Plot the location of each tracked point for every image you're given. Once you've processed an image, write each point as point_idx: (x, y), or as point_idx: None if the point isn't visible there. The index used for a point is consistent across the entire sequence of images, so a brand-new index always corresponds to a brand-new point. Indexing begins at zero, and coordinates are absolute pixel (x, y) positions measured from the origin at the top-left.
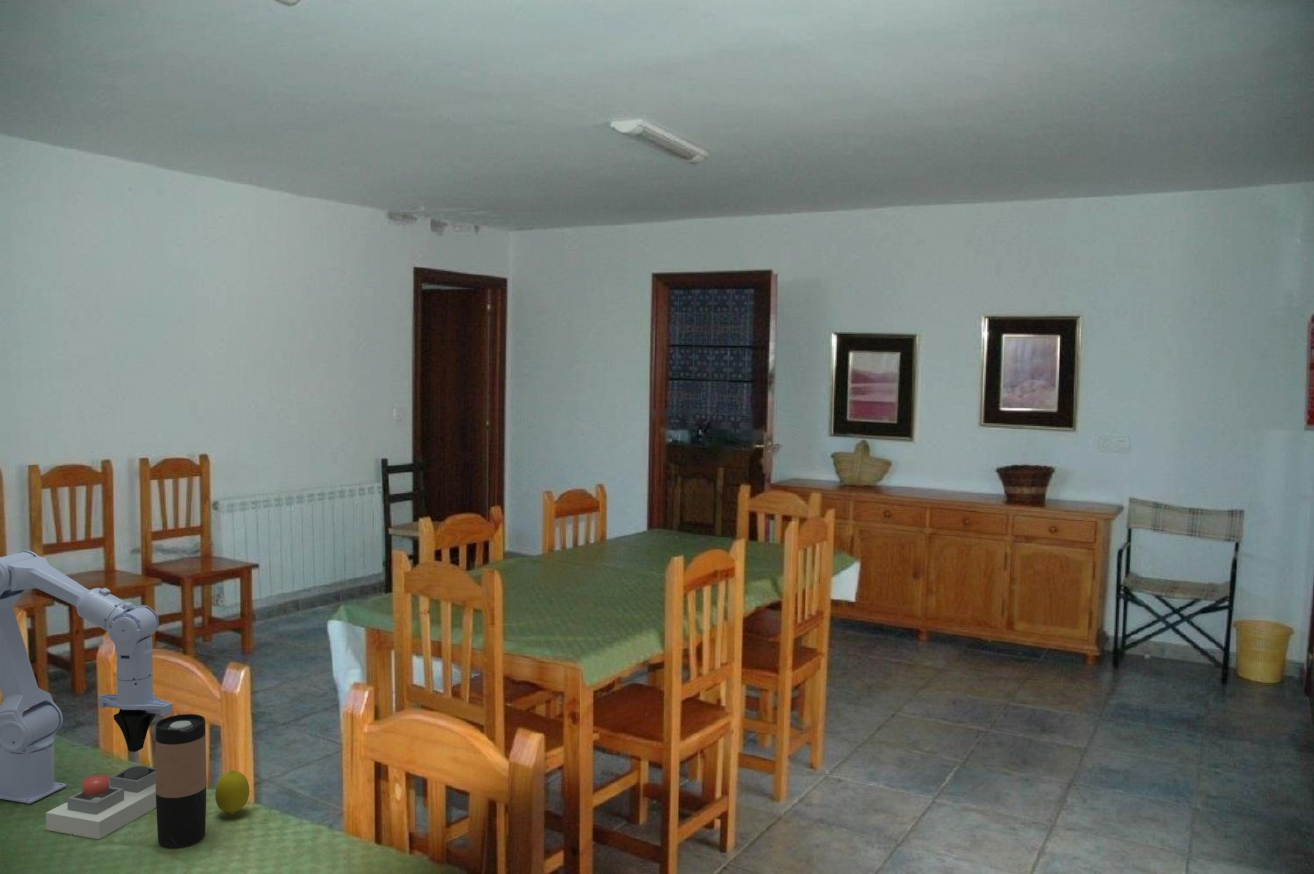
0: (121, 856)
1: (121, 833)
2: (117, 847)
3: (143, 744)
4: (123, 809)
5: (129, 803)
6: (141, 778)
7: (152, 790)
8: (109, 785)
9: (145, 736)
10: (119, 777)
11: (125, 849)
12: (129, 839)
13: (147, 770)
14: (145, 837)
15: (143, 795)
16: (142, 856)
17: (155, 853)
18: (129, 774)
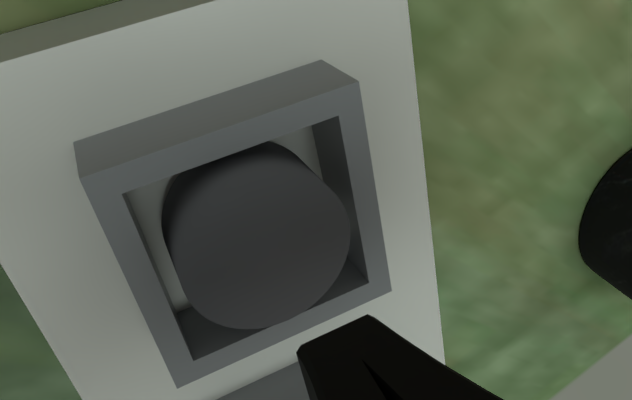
0: (551, 369)
1: (442, 329)
2: (504, 363)
3: (394, 333)
4: (442, 351)
5: (425, 321)
6: (369, 254)
7: (401, 185)
8: (113, 326)
9: (459, 378)
10: (232, 343)
11: (533, 350)
12: (498, 323)
13: (337, 199)
14: (533, 283)
15: (410, 243)
16: (601, 329)
17: (622, 299)
18: (292, 309)
